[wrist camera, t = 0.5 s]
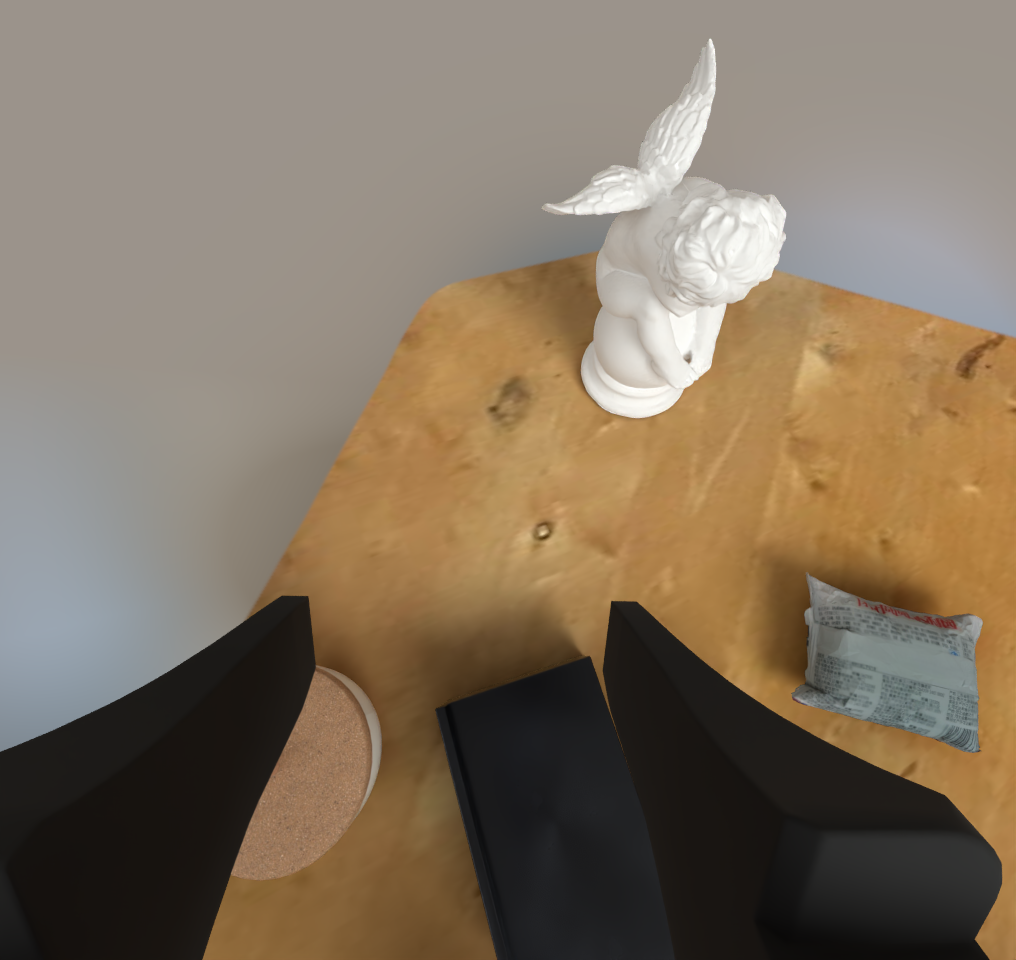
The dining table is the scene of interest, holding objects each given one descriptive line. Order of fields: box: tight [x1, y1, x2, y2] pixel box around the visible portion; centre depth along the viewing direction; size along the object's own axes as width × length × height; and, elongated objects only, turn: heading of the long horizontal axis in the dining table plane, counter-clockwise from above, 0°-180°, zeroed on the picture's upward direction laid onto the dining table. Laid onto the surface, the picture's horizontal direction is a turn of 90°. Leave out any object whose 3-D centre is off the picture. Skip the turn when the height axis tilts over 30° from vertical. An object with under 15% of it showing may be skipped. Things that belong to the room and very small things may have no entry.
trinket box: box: [231, 665, 382, 880], centre depth 32 cm, size 11×11×9 cm
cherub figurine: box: [541, 39, 786, 418], centre depth 34 cm, size 12×12×22 cm
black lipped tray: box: [435, 655, 675, 960], centre depth 32 cm, size 16×10×6 cm, turn 17°
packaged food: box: [791, 572, 983, 753], centre depth 34 cm, size 9×12×5 cm
